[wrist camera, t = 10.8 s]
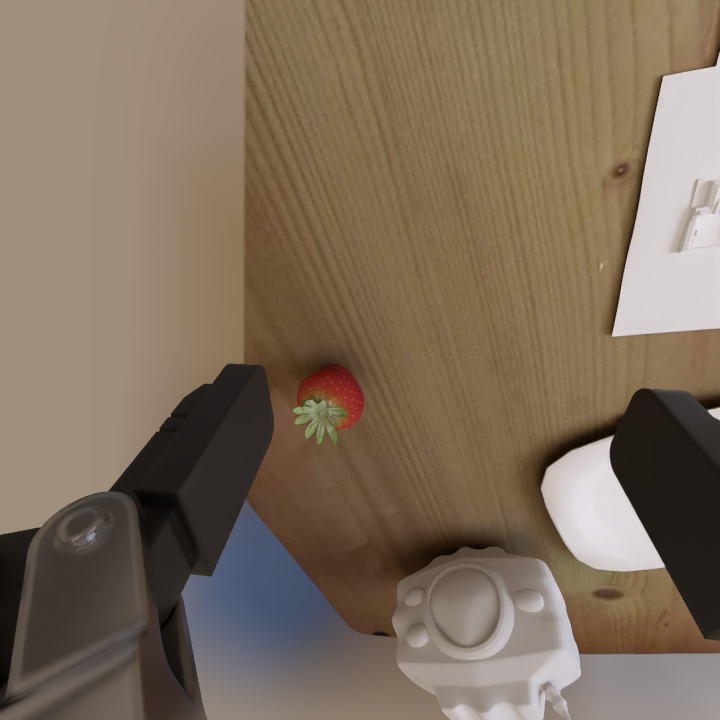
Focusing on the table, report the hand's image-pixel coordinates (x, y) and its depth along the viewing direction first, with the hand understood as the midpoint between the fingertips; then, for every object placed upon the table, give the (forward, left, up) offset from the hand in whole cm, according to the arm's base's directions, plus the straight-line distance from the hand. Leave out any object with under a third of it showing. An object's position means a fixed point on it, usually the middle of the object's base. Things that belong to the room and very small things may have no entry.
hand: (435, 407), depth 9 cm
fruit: (-3, -15, -21) cm, 26 cm away
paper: (+19, +9, -21) cm, 30 cm away
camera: (+18, -37, -21) cm, 46 cm away
